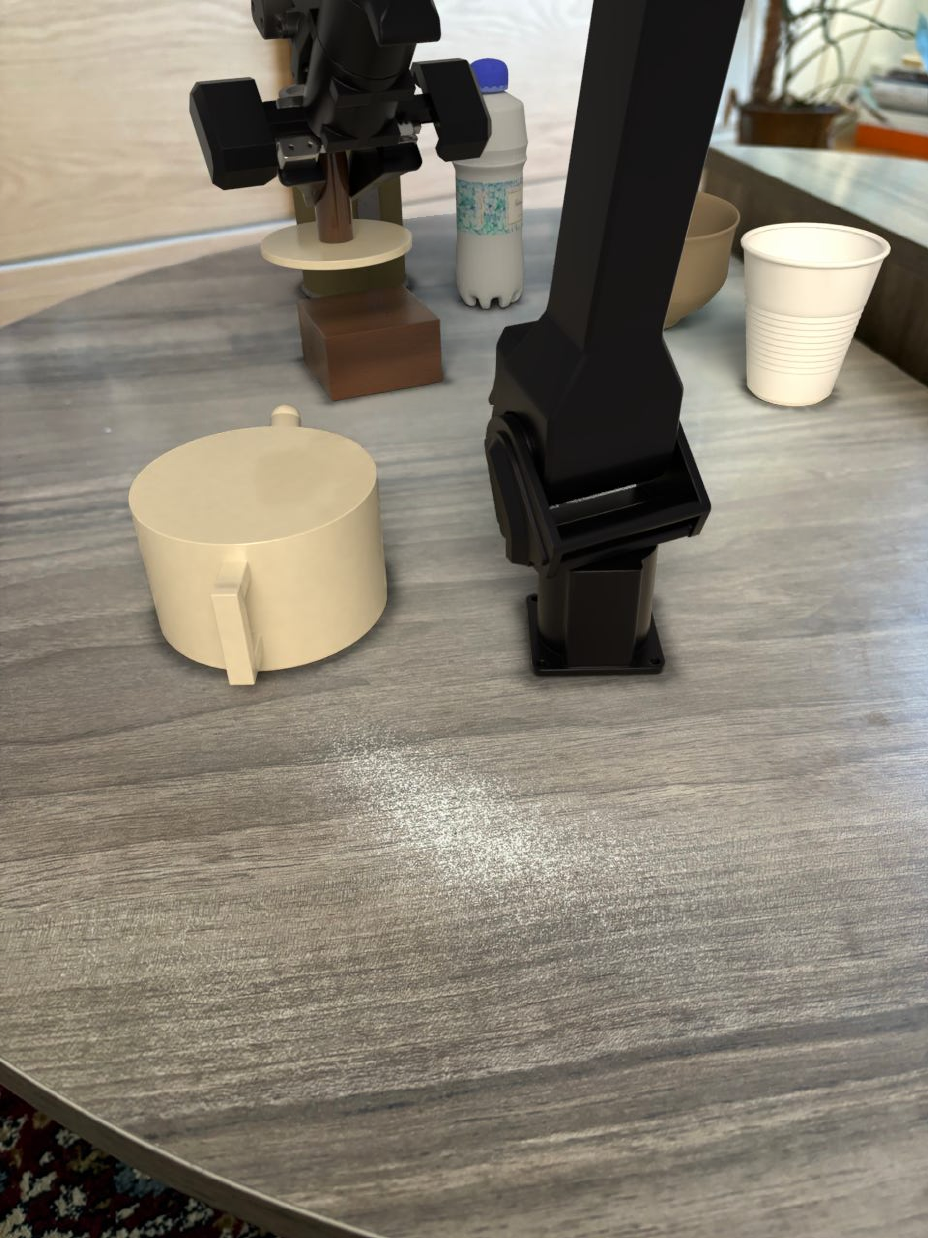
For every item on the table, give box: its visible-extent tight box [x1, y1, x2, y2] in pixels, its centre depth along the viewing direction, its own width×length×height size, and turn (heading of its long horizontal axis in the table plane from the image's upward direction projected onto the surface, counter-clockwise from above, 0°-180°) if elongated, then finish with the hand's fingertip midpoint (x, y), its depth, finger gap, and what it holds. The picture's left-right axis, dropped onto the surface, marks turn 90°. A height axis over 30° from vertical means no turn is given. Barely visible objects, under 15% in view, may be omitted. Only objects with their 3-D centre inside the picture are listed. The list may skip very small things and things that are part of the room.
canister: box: [278, 83, 409, 299], centre depth 91 cm, size 11×10×20 cm
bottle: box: [450, 57, 529, 310], centre depth 87 cm, size 7×7×20 cm
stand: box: [296, 285, 443, 402], centre depth 79 cm, size 9×9×5 cm
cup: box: [740, 222, 892, 407], centre depth 72 cm, size 10×10×11 cm
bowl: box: [664, 190, 741, 330], centre depth 84 cm, size 13×13×10 cm
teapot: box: [127, 403, 388, 686], centre depth 53 cm, size 20×12×8 cm, turn 0°
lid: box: [259, 147, 414, 270], centre depth 70 cm, size 11×11×7 cm
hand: (326, 198), depth 72 cm, fingers closed on lid, 2 cm apart
